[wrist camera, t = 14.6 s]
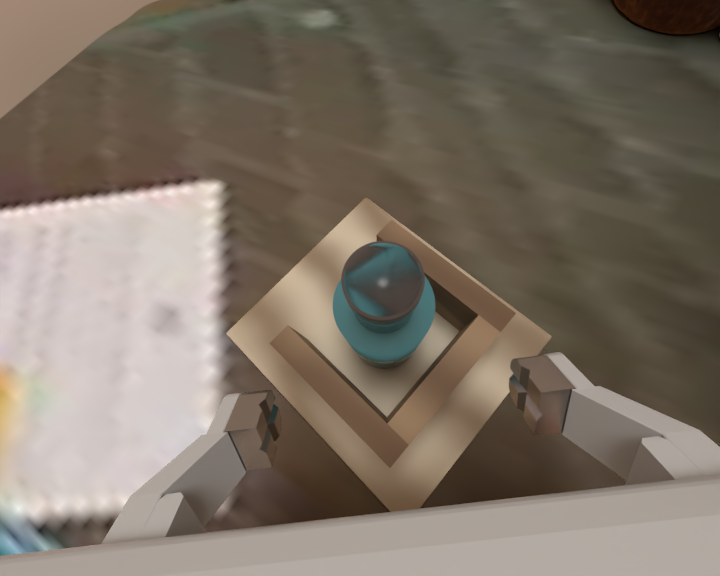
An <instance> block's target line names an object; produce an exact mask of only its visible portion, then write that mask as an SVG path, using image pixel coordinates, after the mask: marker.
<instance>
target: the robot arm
mask: <svg viewBox="0 0 720 576" xmlns="http://www.w3.org/2000/svg"><path fill="white" fill-rule="evenodd" d="M719 36H720V33H719ZM510 369H511V370H512V372H513V373H514V374H513V375H512V376H511V377H510V378H509V390H510V395H511V397H512V400H513V402H514V404H515V405H516V407H517V408H519V409H520V410H522V411H524V420H525V422H526V423H527V425H528V427H529V428H530V430H531V431H532V433H533V435H534V436H539V435H550V434H561V433H563V434H562V435H563V436H565V437H566V438H568V439H569V440H570V441H572V442H573V443H575V444H576V445H577V446H579V447H580V448H582V449H583V450H584V451H586V452H587V453H589V454H590V455H591V456H593V457H594V458H596V459H597V460H598V461H600V462H601V463H602V464H604V465H605V466H607V467H608V468H609V469H611V470H612V471H614V472H615V473H616V474H618V475H619V476H621V477H622V478H623V479H625V480H626V483H625V485H623V486H614V487H605V488H596V489H588V490H579V491H570V492H561V493H552V494H543V495H535V496H526V497H517V498H508V499H500V500H491V501H482V502H474V503H465V504H456V505H447V506H439V507H430V508H421V509H412V510H403V511H394V512H385V513H376V514H367V515H358V516H349V517H340V518H331V519H323V520H314V521H305V522H296V523H287V524H278V525H269V526H261V527H252V528H243V529H234V530H225V531H216V532H206V530H205V529H204V527H205V526H206V524H207V523H208V522H209V520H210V519H211V518H212V516H213V515H214V514H215V513H216V511H217V510H218V509H219V507H220V506H221V505H222V504H223V502H224V501H225V500H226V498H227V497H228V496H229V494H230V493H231V492H232V491H233V489H234V488H235V487H236V485H237V484H238V483H239V481H240V480H241V479H242V478H243V476H244V475H245V474H246V471H250V470H257V469H263V468H270V467H272V465H273V461H274V457H275V453H276V449H277V448H276V445H275V443H274V442H275V441H276V439H277V438H278V437H279V436H280V431H281V415H280V411H279V408H278V407H277V406H275V405H274V400H275V397H274V394H273V392H272V391H271V390H264V391H254V392H245V393H238V394H228V395H227V396H225V397H224V399H223V401H222V403H221V405H220V407H219V409H218V411H217V413H216V415H215V417H214V420H213V422H212V424H211V426H210V428H209V430H208V432H207V434H206V435H202V436H200V437H199V438H198V439H197V440H196V441H195V442H193V443H192V444H191V445H190V446H189V447H188V448H186V449H185V450H184V451H183V452H182V453H181V454H179V455H178V456H177V457H176V458H175V459H174V460H172V461H171V462H170V463H169V464H168V465H167V466H165V467H164V468H163V469H162V470H161V471H160V472H158V473H157V474H156V475H155V476H154V477H152V478H151V479H150V480H149V481H148V482H147V483H145V484H144V485H143V486H142V487H141V488H140V489H138V490H137V491H136V492H135V493H134V494H133V495H131V496H130V498H129V499H128V501H127V503H126V504H125V506H124V507H123V509H122V511H121V512H120V514H119V516H118V517H117V519H116V521H115V522H114V524H113V526H112V527H111V529H110V531H109V532H108V534H107V535H106V537H105V539H104V540H103V542H102V544H101V545H92V546H83V547H75V548H66V549H57V550H48V551H39V552H31V553H22V554H13V555H4V556H0V576H720V447H719V446H718V445H716V444H715V443H714V442H713V441H712V440H711V439H709V438H708V437H707V436H706V435H705V434H704V433H702V432H701V431H700V430H698V429H696V428H694V427H691V426H689V425H687V424H685V423H682V422H680V421H678V420H675V419H673V418H671V417H669V416H666V415H664V414H662V413H660V412H657V411H655V410H653V409H651V408H648V407H646V406H644V405H642V404H639V403H637V402H635V401H632V400H630V399H628V398H626V397H623V396H621V395H619V394H617V393H614V392H612V391H610V390H608V389H605V388H603V387H601V386H596V387H595V386H594V385H593V384H592V383H591V382H590V381H589V380H588V379H587V378H586V377H585V376H584V375H583V374H582V373H581V372H580V371H579V370H578V369H577V368H576V367H575V366H574V365H573V364H572V363H571V362H570V361H569V360H568V359H567V358H566V357H565V356H564V355H563V354H562V353H560V352H556V353H550V354H543V355H537V356H530V357H522V358H515V359H512V361H511V365H510Z"/></svg>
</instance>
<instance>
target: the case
mask: <svg viewBox="0 0 720 576" xmlns="http://www.w3.org/2000/svg"><path fill="white" fill-rule="evenodd" d="M613 1H614V3H615V5H616V6H617V8H618V9H619V10H620V11H621V12H622V13H623V14H624V15H625V16H626V17H627V18H628V19H630V20H631V21H632V22H634V23H636V24H638V25H640V26H642V27H644V28H647V29H650V30H653V31H657V32H662V33H668V34H676V35H678V34H695V33H701V32H705V31H708V30H711V29H714V28H717V27H719V26H720V0H613Z"/></svg>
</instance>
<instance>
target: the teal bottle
mask: <svg viewBox="0 0 720 576" xmlns="http://www.w3.org/2000/svg"><path fill="white" fill-rule="evenodd" d="M333 314H334V319H335V322H336V325H337V327H338V328H339V330H340V332H341V333H342V335H343V336H344V338H345V339H346V340H347V342H348V343H349V344H350V346H351V347H352V348H353V350H354V351H355V353H356V354H357V355H358V357H359V358H360V359H361V360H362V361H364V362H365V363H366V364H368V365H370V366H372V367H375V368H380V369H390V368H395V367H397V366H400V365H401V364H403V363H405V362H406V361H407V360H408V359H409V358H410V357H411V356H412V354H413V353H414V352H415V350H416V349H417V347H418V346H419V344H420V343H421V341H422V340H423V338H424V337H425V335H426V334H427V332H428V331H429V329H430V327H431V325H432V322H433V319H434V315H435V297H434V293H433V290H432V287H431V285H430V283H429V281H428V280H427V278H426V277H425V274H424V270H423V267H422V264H421V262H420V261H419V259H418V258H417V256H416V255H415V254H414V253H413V252H412V251H411V250H410V249H408V248H407V247H405V246H403V245H401V244H398V243H395V242H391V241H375V242H371V243H368V244H366V245H364V246H362V247H360V248H359V249H357V250H356V251H355V252H354V253H352V255H351V256H350V257H349V258H348V260H347V261H346V263H345V265H344V268H343V271H342V276H341V279H340V281H339V283H338V285H337V287H336V289H335V292H334V297H333Z"/></svg>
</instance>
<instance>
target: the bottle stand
mask: <svg viewBox="0 0 720 576" xmlns="http://www.w3.org/2000/svg"><path fill="white" fill-rule="evenodd" d="M375 241H391V242H395V243H398V244H401V245H403V246H405V247H407V248H408V249H410V250H411V251H412V252H413V253H414V254H415V255H416V256H417V258H418V259H419V261H420V262H421V264H422V267H423V270H424V274H425V277H426V278H427V280H428V281H429V283H430V285H431V287H432V290H433V293H434V297H435V315H434V319H433V322H432V325H431V327H430V329H429V331H428V332H427V334H426V335H425V337H424V338H423V340H422V341H421V343H420V344H419V346H418V347H417V349H416V350H415V352H414V353H413V354H412V356H411V357H410V358H409V359H408V360H407V361H406V362H405V363H403V364H401V365H400V366H397V367H395V368H390V369H380V368H375V367H372V366H370V365H368V364H366V363H365V362H364V361H362V360H361V359H360V358H359V357H358V355H357V354H356V353H355V351H354V350H353V348H352V347H351V346H350V344H349V343H348V342H347V340H346V339H345V338H344V336H343V335H342V333H341V332H340V330H339V328H338V327H337V325H336V322H335V319H334V314H333V297H334V292H335V289H336V287H337V285H338V283H339V281H340V279H341V276H342V271H343V268H344V265H345V263H346V261H347V260H348V258H349V257H350V256H351V255H352V253H354V252H355V251H356V250H357V249H359V248H360V247H362V246H364V245H366V244H368V243H371V242H375ZM226 334H227V335H228V336H229V337H230V338H231V339H232V340H233V342H234V343H235V344H236V345H237V346H238V347H239V348H240V349H241V350H242V351H243V352H244V353H245V355H246V356H247V357H248V358H249V359H250V360H251V361H252V362H253V363H254V364H255V365H256V366H257V368H258V369H259V370H260V371H261V372H262V373H263V374H264V375H265V376H266V377H267V378H268V379H269V381H270V382H271V383H272V384H273V385H274V386H275V387H276V388H277V389H278V390H279V391H280V393H281V394H282V395H283V396H284V397H285V398H286V399H287V400H288V401H289V402H290V403H291V404H292V406H293V407H294V408H295V409H296V410H297V411H298V412H299V413H300V414H301V415H302V416H303V417H304V419H305V420H306V421H307V422H308V423H309V424H310V425H311V426H312V427H313V428H314V429H315V430H316V432H317V433H318V434H319V435H320V436H321V437H322V438H323V439H324V440H325V441H326V442H327V443H328V445H329V446H330V447H331V448H332V449H333V450H334V451H335V452H336V453H337V454H338V455H339V457H340V458H341V459H342V460H343V461H344V462H345V463H346V464H347V465H348V466H349V467H350V468H351V470H352V471H353V472H354V473H355V474H356V475H357V476H358V477H359V478H360V479H361V480H362V481H363V483H364V484H365V485H366V486H367V487H368V488H369V489H370V490H371V491H372V492H373V493H374V494H375V496H376V497H377V498H378V499H379V500H380V501H381V502H382V503H383V504H384V505H385V506H386V507H387V509H388V510H389V511H390V512H394V511H403V510H412V509H420V507H421V506H422V505H423V503H424V502H425V501H426V499H427V498H428V497H429V496H430V494H431V493H432V492H433V490H434V489H435V488H436V486H437V485H438V484H439V483H440V481H441V480H442V479H443V477H444V476H445V475H446V473H447V472H448V471H449V470H450V468H451V467H452V466H453V464H454V463H455V462H456V460H457V459H458V458H459V457H460V455H461V454H462V453H463V451H464V450H465V449H466V447H467V446H468V445H469V444H470V442H471V441H472V440H473V438H474V437H475V436H476V435H477V433H478V432H479V431H480V429H481V428H482V427H483V425H484V424H485V423H486V422H487V420H488V419H489V418H490V416H491V415H492V414H493V412H494V411H495V410H496V409H497V407H498V406H499V405H500V403H501V402H502V401H503V399H504V398H505V397H506V396H507V394H508V393H509V392H510V390H509V378H510V377H511V376H512V375H513V374H514V373H513V372H512V370H511V369H510V365H511V361H512V359H515V358H522V357H530V356H537V355H538V354H539V353H540V351H541V350H542V349H543V347H544V346H545V345H546V344H547V342H548V341H549V340H550V338H551V337H552V336H550V335H549V334H548V333H546V332H545V331H544V330H542V329H541V328H540V327H538V326H537V325H536V324H534V323H533V322H532V321H530V320H529V319H528V318H526V317H525V316H524V315H522V314H521V313H520V312H518V311H517V310H516V309H514V308H513V307H512V306H510V305H509V304H508V303H506V302H505V301H504V300H502V299H501V298H500V297H498V296H497V295H496V294H494V293H493V292H492V291H490V290H489V289H488V288H486V287H485V286H484V285H482V284H481V283H480V282H478V281H477V280H476V279H474V278H473V277H472V276H470V275H469V274H468V273H466V272H465V271H464V270H462V269H461V268H460V267H458V266H457V265H456V264H454V263H453V262H452V261H450V260H449V259H448V258H446V257H445V256H444V255H442V254H441V253H440V252H438V251H437V250H436V249H434V248H433V247H432V246H430V245H429V244H428V243H426V242H425V241H424V240H422V239H421V238H420V237H418V236H417V235H416V234H414V233H413V232H412V231H410V230H409V229H408V228H406V227H405V226H404V225H402V224H401V223H400V222H398V221H397V220H396V219H394V218H393V217H392V216H390V215H389V214H388V213H386V212H385V211H384V210H382V209H381V208H380V207H378V206H377V205H376V204H374V203H373V202H372V201H370V200H369V199H368V198H365V199H364V200H363V201H362V202H361V203H360V204H359V205H358V206H357V207H356V208H354V209H353V210H352V211H351V212H350V213H349V214H348V215H347V216H346V217H345V218H344V219H343V220H342V221H341V222H340V223H339V224H338V225H337V226H336V227H335V228H334V229H333V230H332V231H331V232H330V233H329V234H328V235H327V236H326V237H325V238H324V239H323V240H322V241H321V242H320V243H319V244H317V245H316V246H315V247H314V248H313V249H312V250H311V251H310V252H309V253H308V254H307V255H306V256H305V257H304V258H303V259H302V260H301V261H300V262H299V263H298V264H297V265H296V266H295V267H294V268H293V269H292V270H291V271H290V272H289V273H288V274H287V275H286V276H285V277H284V278H283V279H282V280H281V281H279V282H278V283H277V284H276V285H275V286H274V287H273V288H272V289H271V290H270V291H269V292H268V293H267V294H266V295H265V296H264V297H263V298H262V299H261V300H260V301H259V302H258V303H257V304H256V305H255V306H254V307H253V308H252V309H251V310H250V311H249V312H248V313H247V314H246V315H245V316H244V317H242V318H241V319H240V320H239V321H238V322H237V323H236V324H235V325H234V326H233V327H232V328H231V329H230V330H229V331H228V332H227V333H226Z"/></svg>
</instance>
